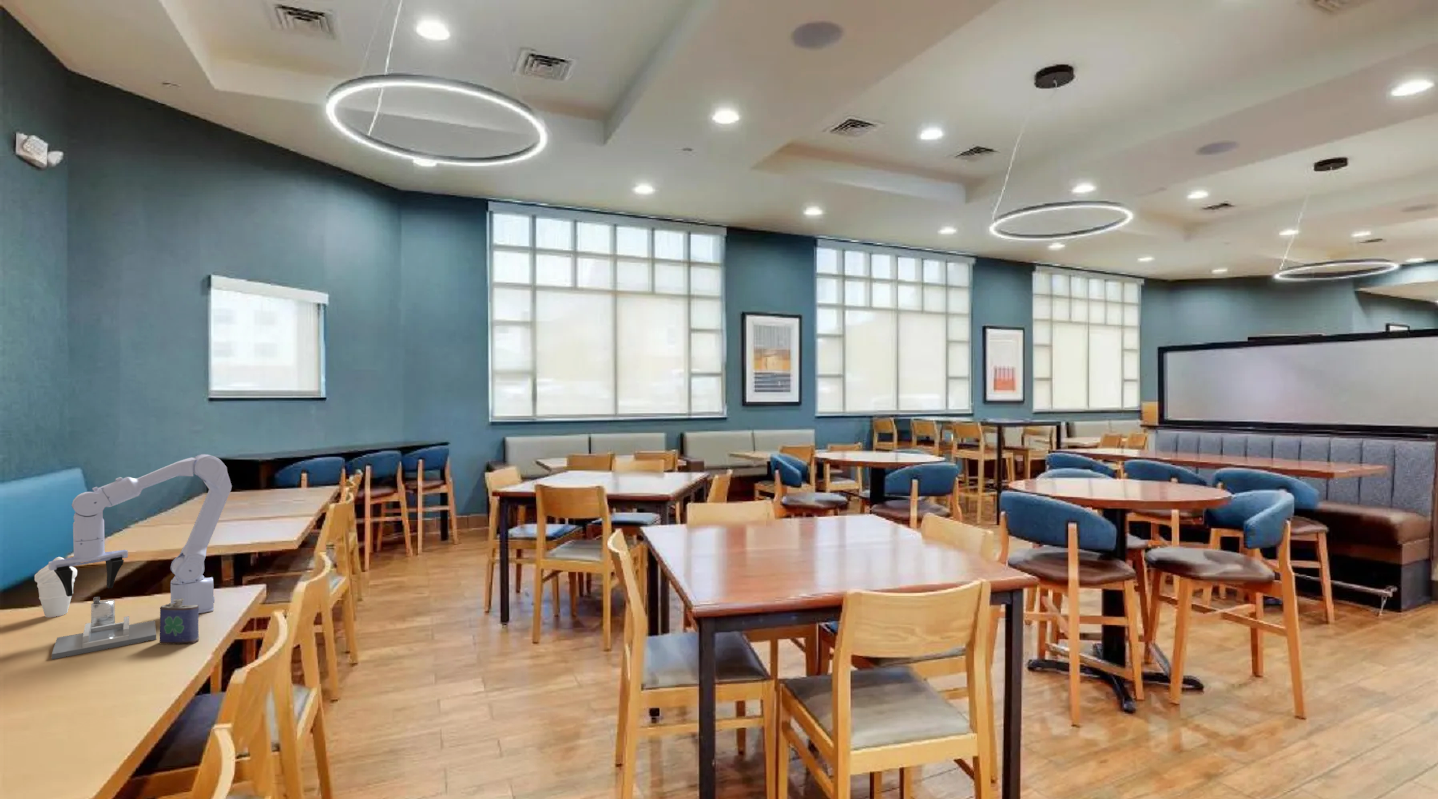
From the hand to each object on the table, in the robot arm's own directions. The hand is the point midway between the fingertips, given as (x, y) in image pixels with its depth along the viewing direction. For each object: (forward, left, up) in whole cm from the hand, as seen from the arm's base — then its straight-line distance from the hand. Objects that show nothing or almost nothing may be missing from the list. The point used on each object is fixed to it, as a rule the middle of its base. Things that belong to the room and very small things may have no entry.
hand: (90, 591), depth 165 cm
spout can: (-2, +1, -10) cm, 10 cm away
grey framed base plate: (-3, +13, -10) cm, 17 cm away
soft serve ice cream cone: (+8, -23, -10) cm, 27 cm away
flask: (-16, +26, -10) cm, 32 cm away
